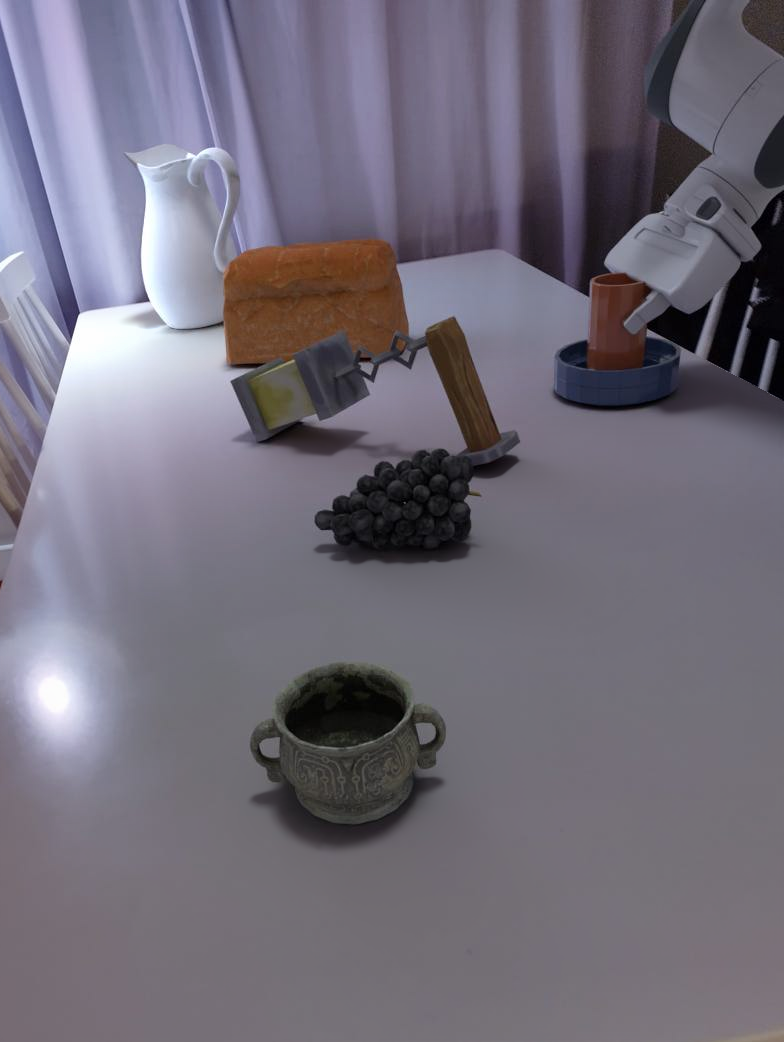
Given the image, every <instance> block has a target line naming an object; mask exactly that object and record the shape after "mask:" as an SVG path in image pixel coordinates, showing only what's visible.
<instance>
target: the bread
mask: <svg viewBox="0 0 784 1042" xmlns="http://www.w3.org/2000/svg"><path fill="white" fill-rule="evenodd" d="M237 256H238V257H237V258H235V259H234V260H233V261H231V262H230V263H229V265H228V266H227V268H226V270H225V271H224V273H223V281H224V283H223V296H224V297H225V299H224V307H223V329H224V339H225V354H226V356H225V357H226V363H227V364H229V365H231V366H232V365H234V366H235V365H245V364H246V365H247V364H266V363H268V362H271V361H273V360H275V359H278V358H280V357H281V358H282V360H283V362H284V363H287V362H289V361H291V360H294V358H293V356H292V355H293V354H295V353H297V352H299V351H301V350H303V349H305V348H308V347H310V346H312V345H314V344H316V343H318V342H320V341H322V340H324V339H326V338H328V337H330V336H332V335H335V334H337V333H339V332H342V331H344V330H345V332H346V334H347V337H348V339H349V342H350V344H351V347H352V350H353V352H354V355H356V352H357V348H358V345H361V346H362V347H364V348H366V349H367V350H369V351H371V352H372V353H374V354H376V355H378V354H380V353H382V352H385V351H387V350H389V349H390V346H391V343H392V340H393V336H394V333H395V330H398V331H399V332H401V333H403V334H404V335H406V336H408V337H409V338H410V328H409V327H410V326H409V325H410V324H409V319H408V315H407V309H406V304H405V303H406V302H405V297H404V290H403V288H404V287H403V284H402V280H401V277H400V274H399V271H398V266H397V265H398V264H397V256H396V254H395V252H394V250H393V248H392V246H391V244H390V242H388V241H385V240H382V239H379V238H361V239H346V240H341V241H331V242H330V241H329V242H300V243H296V244H291V245H272V246H271V245H267V246H262V247H257V248H252V249H247V250H244V251H243V252H241V253H240V254H239V255H237ZM406 345H407V342H405V341H404V340H402V339H400V338H399V339H398V342H397V345H396V348H398V349H399V350H401V352H402V351H403V350H404V349H405V347H406ZM360 359H371V358H370V357H369V356H367V355H366V354H364V353H361V356H360Z"/></svg>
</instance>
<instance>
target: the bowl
mask: <svg viewBox="0 0 784 1042" xmlns="http://www.w3.org/2000/svg"><path fill="white" fill-rule="evenodd" d="M587 341H588V338H586V339H580V340H577V341H574V342H571V343H569V344H565V345H564V346H562V347H561V348H559V349H558V350H556V353H555V355H554V361H553V363H554V366H553V389H554V390H555V393H556V394H557V395H559V396H560V397H562V398H564V399H565V400H569V401H572V402H576V403H581V404H583V405H584V404H585V405H590V406H598V407H623V406H632V405H633V406H634V405H638V404H639V405H640V404H643V403H647V402H651V401H655V400H658V399H662V398H663V397H667V396H668V395H671V394H672V393H673V392H674V391H675V390H677V388H678V385H679V375H680V365H681V355H682V348H681V347H680V346H679V345H677V343H675V342H673V341H669V340H667V339H665V338H659V337H655V336H648V335H647V336H646V349H645V361H644V367H643V368H636V369H626V370H594V369H587Z"/></svg>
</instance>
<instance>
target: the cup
mask: <svg viewBox="0 0 784 1042" xmlns="http://www.w3.org/2000/svg"><path fill="white" fill-rule="evenodd" d="M649 294H650V288H649V287H647V286H646V285H645V282H644V281H642V282H637V281H635V280H633V279H631V278H629V277H628V276H627V275H626V273H625V272H620V273H611V272H609V273H605V274H601V275H597V276H594V277H592V278H591V279H590V280H589V296H588V297H589V298H588V299H589V300H588V319H587V320H588V321H587V339H588V341H587V369H594V370H626V369H636V368H643V367H644V361H645V349H646V336H648V335H647V334H648V323H646V324H645V325H644V326H643V327H642V328H641V329H640V330H639V331H638V332H637V333H636V334H631V333H630V332H628V331H627V330H626V329H625V328H623V327H622V326H621V320H622V319H623V318H624V317H625V316H626V315H627V314H628V312H629V311H630V310H631V311H633V312H634V311H635V310H636V309H637V308H638V307H639V306H641V305H642V304H643V303H644V302H646V301H647V299H646V297H647V296H648V295H649Z"/></svg>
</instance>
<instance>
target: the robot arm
mask: <svg viewBox="0 0 784 1042" xmlns="http://www.w3.org/2000/svg"><path fill="white" fill-rule="evenodd" d="M750 1H751V0H690V2H688V4H687V5H686V7H685V8H684V10H683V11H682V13H680V15H679V17H677V19H676V20H675V21H674V23H673V24H672V26H671V27H670V28H669V30H668V31H667V32H666V33H665V35H664V36H663V38H662V39H661V40H660V42H659V43H658V44H657V46H656V47H655V49H654V51H653V52H652V54H651V56H650V57H649V59H648V61H647V63H646V66H645V68H644V72H643V94H644V101H645V104H646V105H645V106H646V109H647V111H648V113H649V115H651V116H653V117H655V118H656V119H658V120H660V121H662V122H664V123H665V124H667V125H669V126H670V127H672V128H673V129H675V130H679V131H681V132H682V133H683V134H685V135H686V136H688V137H689V138H690V139H692V140H693V141H694V142H696V143H697V144H699V145H700V146H701V147H703V149H705V150H706V151H708V152H710V153H711V155H710V156H709V157H707V158H705V159H704V160H703V161H701V162H700V163H699V164H698V165H697V166H696V167H695V168H694V169H693V170H692V171H691V173H690V174H689V175H688V176H687V177H686V178H685V179H684V181H682V183H681V184H680V185H679V187H678V188H677V189H676V190H675V191H674V192H673V193H672V194H671V196H669V198H667V200H666V201H665V203H664V204H663V210H661V211H660V212H656V213H650V214H647V215H645V216H644V217H642V219H640V220H639V221H638V222H637V223H636V224H635V225H634V226H633V227H631V229H630V230H629V231H628V232H627V233H626V234H625V235H624V236H623V237H622V238H621V239H620V240H619V241H618V242H617V243H616V244H615V245H614V247H613V248H612V249H610V251H609V252H608V253H607V255H606V256H605V260H604V262H603V264H604V267H605V268H606V269H607V270H609V272H610V273H620V272H625V273H626V275H627V276H628V277H629V278H631V279H633V280H635V281H637V282H642V281H644V282H645V285H646V286H647V287H649V288H650V294H649V295H648V296H647V297H646V299H647V301H646V302H644V303H643V304H642V305H641V306H639V307H638V308H637V309H636V310H635V311H634V312H633V311H631V310H630V311H629V312H628V314H627V315H626V316H625V317H624V318H623V319H622V320H621V326H622V327H623V328H625V329H626V330H627V331H628V332H630V333H631V334H636V333H637V332H638V331H639V330H640V329H641V328H642V327H643V326H644V325H645V324H646V323H647V324H648V323H649V322H651V321H653V320H654V319H656V318H658V317H659V316H661V315H662V314H663V313H664V312H665V311H666V310H667V309H668V308H669V307H670V306H671V307H673V308H674V309H677V310H679V311H681V312H683V313H684V314H688V315H691V314H693V313H695V312H696V311H698V310H700V309H702V308H703V307H705V306H706V305H707V304H708V303H709V302H710V301H711V300H712V299H713V298H714V297H715V296H716V295H717V294H718V293H719V292H720V291H721V290H722V289H723V288H724V287H725V285H726V284H727V283H728V282H729V281H731V279H732V278H733V277H734V276H735V275H736V273H737V271H738V270H739V269H740V266H741V263H742V262H744V263H747V262H749V261H751V260H752V259H753V258H754V257H755V256H756V255H757V254H758V253H759V252H760V251H761V250H762V249H761V248H762V244H761V242H760V240H759V238H758V237H757V236H756V234H755V232H754V230H752V227H753V226H754V225H755V224H756V222H757V221H758V220H759V219H760V218H761V216H763V215H762V214H763V213H764V211H765V209H766V208H767V206H768V204H769V203H770V202H771V201H772V199H773V198H775V197H776V196H777V195H778V194H779V193H782V192H783V191H784V56H783V55H781V54H779V53H778V52H777V51H775V50H774V49H772V48H771V47H769V46H768V45H766V44H765V43H764V42H763V41H761V40H759V39H758V38H756V37H755V36H754V35H752V34H751V33H750V32H749V31H747V29H746V28H745V26H744V25H745V24H744V23H743V16H742V15H743V11H744V10H745V8H746V7H747V5H748V4H749V2H750Z"/></svg>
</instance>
